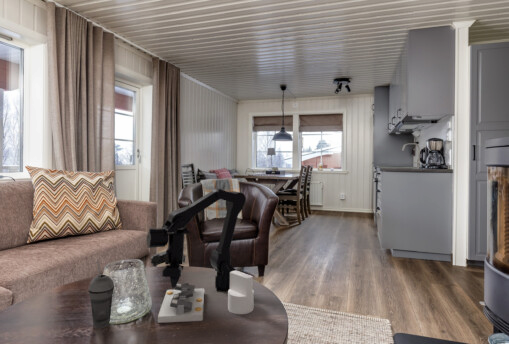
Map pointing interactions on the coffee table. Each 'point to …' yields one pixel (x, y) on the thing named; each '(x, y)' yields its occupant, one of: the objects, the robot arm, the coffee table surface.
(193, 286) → the switch
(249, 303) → the cylinder with rectangular tab
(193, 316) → the switch panel
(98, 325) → the beverage cup
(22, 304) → the coffee table surface
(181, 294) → the switch
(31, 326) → the coffee table surface
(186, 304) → the switch
